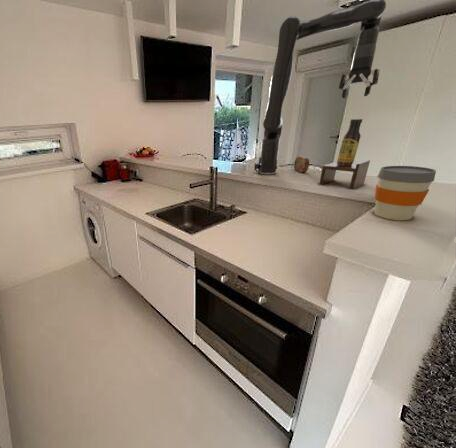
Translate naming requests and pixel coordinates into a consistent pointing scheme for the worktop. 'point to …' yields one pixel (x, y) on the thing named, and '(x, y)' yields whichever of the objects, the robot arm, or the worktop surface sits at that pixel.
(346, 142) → the sauce bottle
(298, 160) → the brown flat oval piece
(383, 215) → the reusable coffee cup
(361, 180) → the shelf
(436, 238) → the worktop surface
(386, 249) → the worktop surface
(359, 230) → the worktop surface
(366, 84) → the robot arm
